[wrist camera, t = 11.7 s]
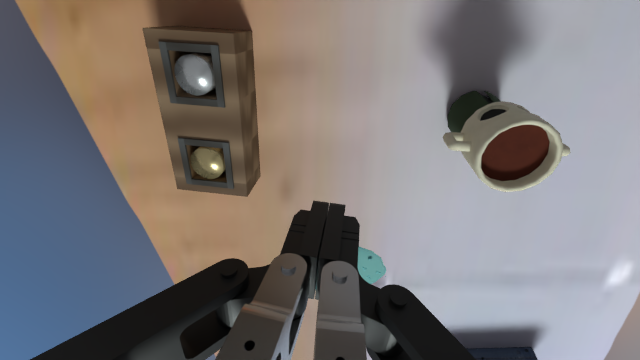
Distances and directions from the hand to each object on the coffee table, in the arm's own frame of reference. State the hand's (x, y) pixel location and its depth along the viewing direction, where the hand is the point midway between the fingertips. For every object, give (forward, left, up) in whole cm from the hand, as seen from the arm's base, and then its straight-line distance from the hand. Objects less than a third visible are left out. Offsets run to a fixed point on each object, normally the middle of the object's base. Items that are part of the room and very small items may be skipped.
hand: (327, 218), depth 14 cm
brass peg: (+9, -17, -28) cm, 34 cm away
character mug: (+2, +16, -28) cm, 32 cm away
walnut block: (+4, -17, -28) cm, 33 cm away
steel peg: (-2, -17, -28) cm, 33 cm away
